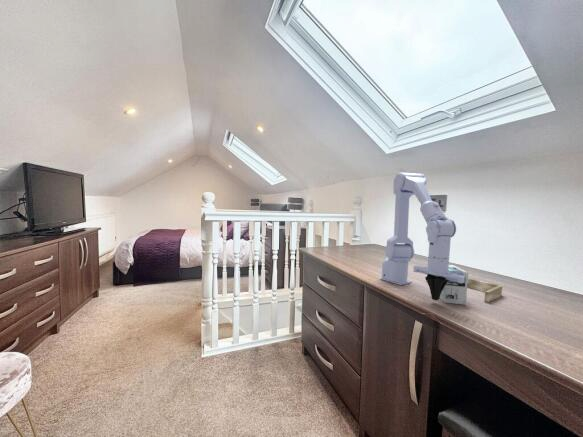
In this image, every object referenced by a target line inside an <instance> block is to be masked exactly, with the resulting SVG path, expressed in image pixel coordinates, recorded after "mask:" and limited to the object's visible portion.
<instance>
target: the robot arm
mask: <svg viewBox="0 0 583 437" xmlns="http://www.w3.org/2000/svg"><path fill="white" fill-rule="evenodd" d="M427 180H428V179H427V178H426V175H425V174H424V173H417V172H416V173H415V172H414V173H412V172H411V173H410V172H401V171H400V172H397V174H396V175H395V177H394V178H393V195H395V200H394V201H395V204H394V225H393V226H394V227H393V236H391V237H390V238H388V239H387V241H386V245H385V248H384V252H385V256H386V258H385V259H383V261H382V266H381V278H380V280H383V281H385V282H389V283H392V284H395V285H399V286H404V285H408V284H411V283H412V280H410V279H408V274H409V262H411V260H412V259H413V257H414V256H415V249H414V241H413V240H412V239H411V238H409V236H408V235H409V212H410V198H411V197H412V196H415V197H416V199H417V201H418V202H419V204H420V205H421V206H420V208H419V210H420V213H421V215H422V217H423V219H424V221H425V222H426V224H427V225H426V227H425V232H426V235H427V242H428V243H429V245H428V254H427V255H428V259H427V266H420V265H413V271H412V272H413V273H419V274H424V275H426V276H425V277H424V278H425V281H426V283H427V286H428V288H429V292H430V295H431V300H433V301H438V300H440V295H441V292H442V290H443V288H444V287H445V285H446V284H447V282H448V281H449V280H452V281H456V282H458V283H464V279H465V276H461V275H458V274H454V273H451V272H448V267H449V265H450V250H451V239H452V238H453V237H454V236H455V235H456V232H457V225H456V223H455V221H454V220H453V219H452V218H451V219H450V218H449V217H446V214H445V213H444V212H443V210H442V209H441V206H440V204H439V203H438V202H437V201H433V200H432V198H431V196H430V193H429V191H428V188H427Z"/></svg>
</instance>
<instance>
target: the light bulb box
mask: <svg viewBox="0 0 583 437" xmlns="http://www.w3.org/2000/svg"><path fill="white" fill-rule="evenodd" d="M448 272H451V273H454V274H458V275H461V276H465V279H464V283H458V282H456V281H452V280H449V281H448V282H447V284H446V285H445V287H444V288H443V290H442V292H441V295H440V298H439V300H441V301H442V303H445V304H455V305H463V306H466V305H467V296H468V294H467V292H468V288H467V283H468V278H469V272H468V271H467V270H464V269H462V268H460V267H458V266H456V265H454V264H449V267H448Z"/></svg>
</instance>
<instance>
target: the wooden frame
mask: <svg viewBox="0 0 583 437" xmlns="http://www.w3.org/2000/svg"><path fill="white" fill-rule="evenodd" d="M467 289H472V290H476V291H480V292H484V303H487V304H490V302H493V301H494V300H497V299H498V298H500V297H502V295H503V285H499V284H495V283H492V282H486V281H481V280H477V279H472V278H470V277H468V283H467Z"/></svg>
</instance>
